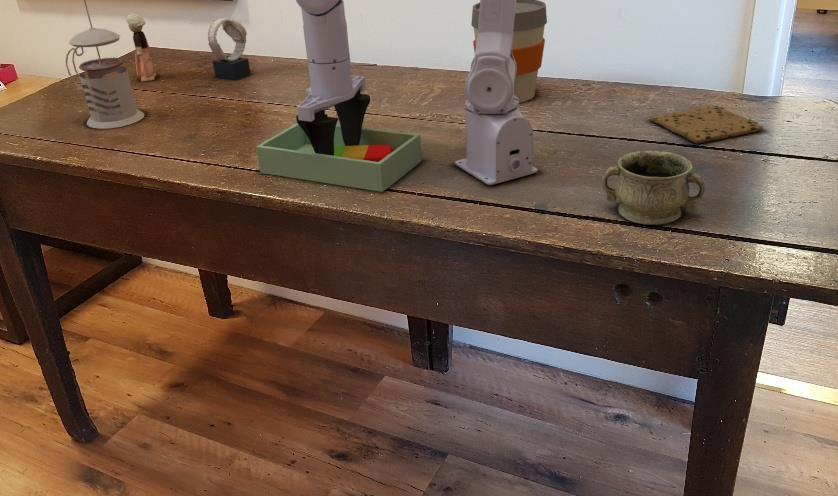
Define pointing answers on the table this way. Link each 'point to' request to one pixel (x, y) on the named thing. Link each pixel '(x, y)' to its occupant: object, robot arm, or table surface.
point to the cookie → (706, 123)
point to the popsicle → (363, 152)
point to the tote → (340, 159)
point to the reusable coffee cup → (524, 43)
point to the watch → (233, 64)
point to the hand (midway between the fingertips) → (339, 154)
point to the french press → (104, 82)
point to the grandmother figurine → (141, 48)
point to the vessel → (652, 186)
